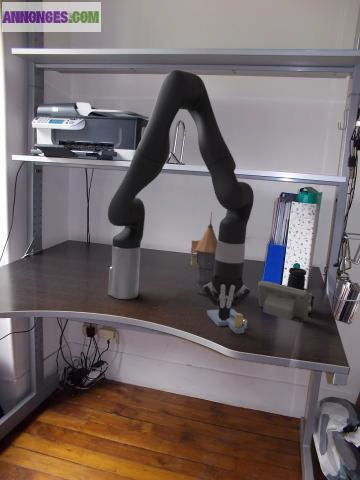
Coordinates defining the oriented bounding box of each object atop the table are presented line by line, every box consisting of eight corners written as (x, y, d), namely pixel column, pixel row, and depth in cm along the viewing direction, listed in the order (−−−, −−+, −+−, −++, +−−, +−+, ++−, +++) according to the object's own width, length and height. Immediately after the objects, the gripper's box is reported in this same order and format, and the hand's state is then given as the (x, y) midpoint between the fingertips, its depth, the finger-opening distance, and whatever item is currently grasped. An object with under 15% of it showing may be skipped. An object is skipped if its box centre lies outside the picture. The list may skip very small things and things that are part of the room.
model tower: (187, 291, 135) (194, 209, 129) (218, 293, 134) (225, 211, 129) (186, 300, 126) (193, 212, 120) (219, 303, 125) (227, 215, 119)
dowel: (241, 329, 103) (242, 320, 102) (242, 327, 104) (243, 318, 103) (245, 330, 103) (246, 321, 102) (246, 328, 104) (247, 319, 103)
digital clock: (310, 322, 114) (315, 289, 112) (295, 329, 108) (300, 295, 106) (266, 306, 126) (269, 275, 124) (250, 311, 120) (253, 280, 118)
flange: (207, 314, 111) (208, 299, 110) (232, 312, 114) (233, 298, 113) (225, 334, 99) (227, 317, 98) (253, 332, 101) (255, 316, 100)
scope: (316, 276, 115) (283, 270, 119) (309, 318, 118) (278, 311, 122) (318, 270, 122) (287, 265, 126) (313, 310, 125) (282, 303, 129)
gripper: (205, 260, 94) (199, 323, 97) (257, 263, 94) (249, 327, 97) (203, 253, 101) (198, 312, 105) (252, 256, 101) (245, 315, 105)
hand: (223, 319), depth 101 cm, fingers closed
